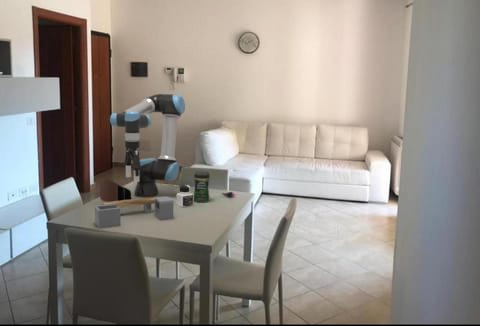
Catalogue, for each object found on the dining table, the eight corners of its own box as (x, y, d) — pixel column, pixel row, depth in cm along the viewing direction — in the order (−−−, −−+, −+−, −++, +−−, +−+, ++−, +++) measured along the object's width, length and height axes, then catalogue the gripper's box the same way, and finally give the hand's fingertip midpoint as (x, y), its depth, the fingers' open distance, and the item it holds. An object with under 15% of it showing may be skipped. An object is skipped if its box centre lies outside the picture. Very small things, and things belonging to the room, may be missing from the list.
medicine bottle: (182, 207, 267) (183, 187, 265) (176, 205, 272) (176, 185, 270) (193, 205, 272) (193, 186, 269) (186, 203, 277) (186, 183, 275)
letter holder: (116, 206, 266) (116, 183, 264) (99, 199, 280) (99, 177, 277) (131, 203, 273) (131, 180, 270) (114, 197, 287) (114, 175, 284)
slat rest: (107, 215, 249) (107, 206, 248) (148, 210, 260) (148, 201, 259) (109, 217, 245) (109, 208, 244) (151, 212, 256) (151, 204, 255)
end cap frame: (95, 223, 235) (94, 203, 234) (167, 214, 254) (167, 196, 252) (98, 228, 228) (98, 208, 226) (173, 218, 246) (173, 200, 244)
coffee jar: (192, 202, 279) (193, 172, 275) (194, 199, 286) (194, 170, 283) (208, 203, 278) (209, 173, 275) (209, 199, 286) (210, 170, 283)
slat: (102, 207, 247) (102, 202, 246) (153, 201, 260) (153, 197, 259) (104, 208, 243) (104, 204, 243) (155, 203, 256) (155, 199, 256)
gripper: (118, 138, 254) (118, 175, 258) (133, 143, 234) (133, 184, 237) (131, 137, 258) (131, 174, 262) (147, 143, 237) (147, 183, 241)
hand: (132, 179), depth 249 cm, fingers open, 13 cm apart
